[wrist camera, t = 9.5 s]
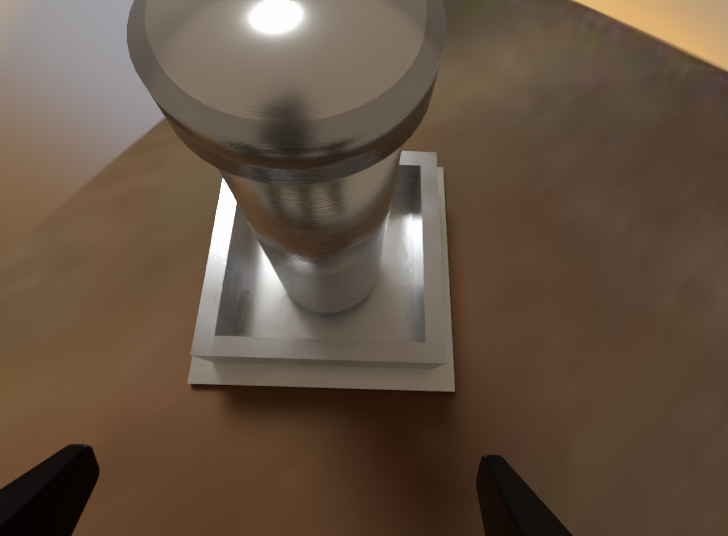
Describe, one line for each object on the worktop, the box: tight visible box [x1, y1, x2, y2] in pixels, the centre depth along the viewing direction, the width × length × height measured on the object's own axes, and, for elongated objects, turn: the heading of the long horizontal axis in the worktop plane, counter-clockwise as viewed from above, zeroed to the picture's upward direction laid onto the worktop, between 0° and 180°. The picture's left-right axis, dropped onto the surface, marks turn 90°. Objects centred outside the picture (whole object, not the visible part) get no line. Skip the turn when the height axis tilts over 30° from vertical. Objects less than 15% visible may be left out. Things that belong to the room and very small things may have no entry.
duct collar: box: [188, 151, 455, 392], centre depth 18 cm, size 12×12×3 cm
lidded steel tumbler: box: [127, 0, 447, 313], centre depth 13 cm, size 6×6×13 cm
